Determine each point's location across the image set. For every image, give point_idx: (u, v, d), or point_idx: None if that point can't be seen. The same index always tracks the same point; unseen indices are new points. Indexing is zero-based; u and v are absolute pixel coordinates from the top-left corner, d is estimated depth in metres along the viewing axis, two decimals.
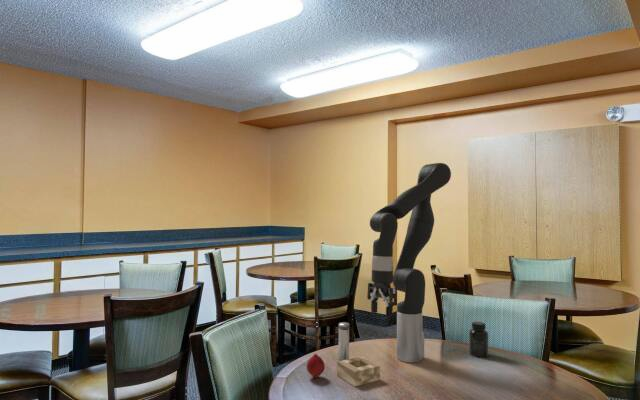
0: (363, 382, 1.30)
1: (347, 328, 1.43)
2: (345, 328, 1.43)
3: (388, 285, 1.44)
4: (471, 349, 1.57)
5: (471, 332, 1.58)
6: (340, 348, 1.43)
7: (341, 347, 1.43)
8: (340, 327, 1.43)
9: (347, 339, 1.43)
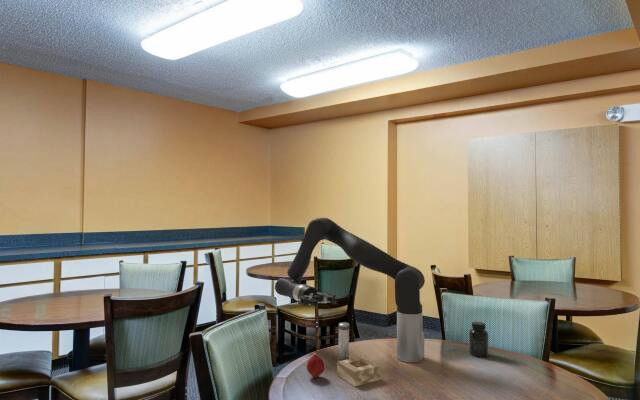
0: (363, 382, 1.30)
1: (347, 328, 1.43)
2: (345, 328, 1.43)
3: None
4: (471, 349, 1.57)
5: (471, 332, 1.58)
6: (340, 348, 1.43)
7: (341, 347, 1.43)
8: (340, 327, 1.43)
9: (347, 339, 1.43)
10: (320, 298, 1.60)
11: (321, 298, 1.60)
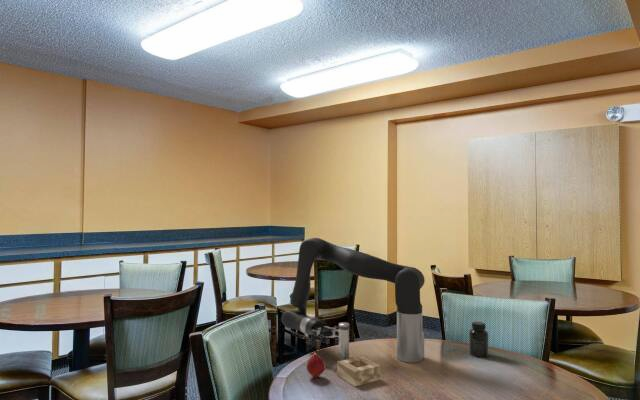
0: (363, 382, 1.30)
1: (347, 328, 1.43)
2: (345, 328, 1.43)
3: None
4: (471, 349, 1.57)
5: (471, 332, 1.58)
6: (340, 348, 1.43)
7: (341, 347, 1.43)
8: (340, 327, 1.43)
9: (347, 339, 1.43)
10: (328, 333, 1.55)
11: (329, 333, 1.55)
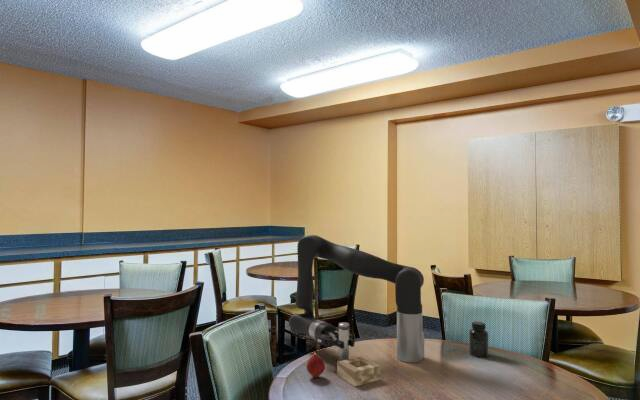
0: (363, 382, 1.30)
1: (347, 328, 1.43)
2: (345, 328, 1.43)
3: None
4: (471, 349, 1.57)
5: (471, 332, 1.58)
6: (340, 348, 1.43)
7: None
8: (340, 327, 1.43)
9: (347, 339, 1.43)
10: (336, 338, 1.49)
11: (337, 338, 1.49)
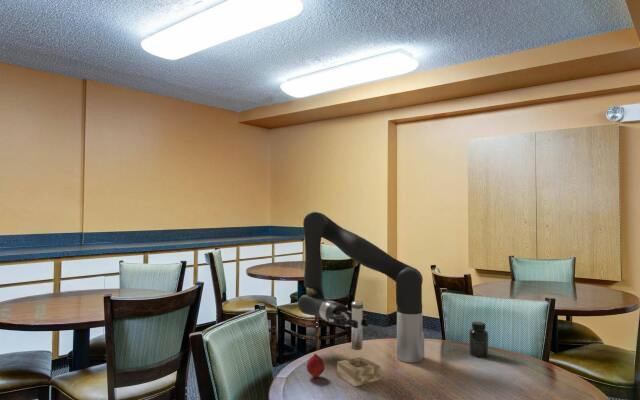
0: (363, 382, 1.30)
1: (361, 307, 1.35)
2: (359, 306, 1.35)
3: None
4: (471, 349, 1.57)
5: (471, 332, 1.58)
6: (353, 328, 1.35)
7: None
8: (353, 306, 1.35)
9: (361, 318, 1.35)
10: (348, 318, 1.40)
11: (350, 318, 1.41)
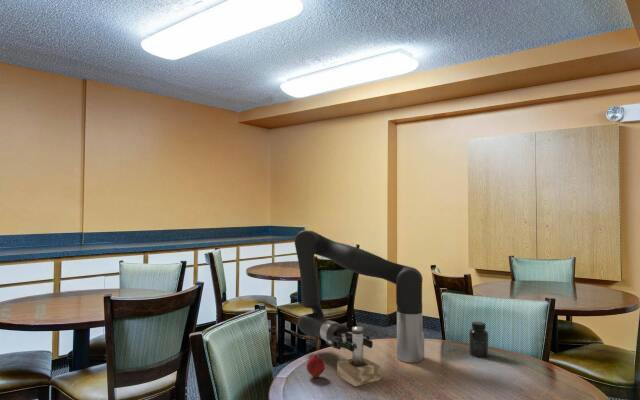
0: (363, 382, 1.30)
1: (361, 332, 1.35)
2: (360, 332, 1.34)
3: None
4: (471, 349, 1.57)
5: (471, 332, 1.58)
6: (354, 354, 1.35)
7: (355, 353, 1.34)
8: (354, 331, 1.35)
9: (361, 344, 1.35)
10: None
11: None
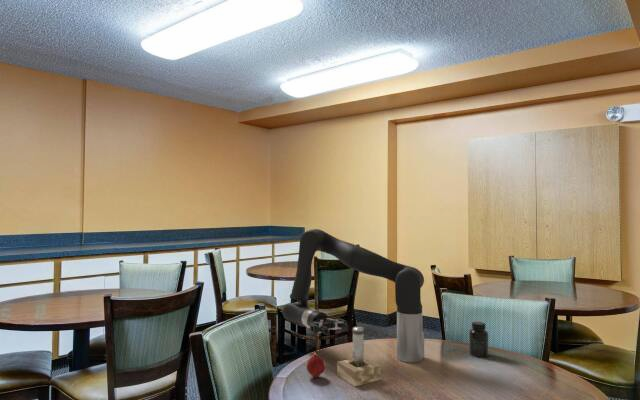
0: (363, 382, 1.30)
1: (362, 333, 1.34)
2: (360, 332, 1.34)
3: (313, 324, 1.54)
4: (471, 349, 1.57)
5: (471, 332, 1.58)
6: (354, 354, 1.34)
7: (356, 353, 1.34)
8: (354, 332, 1.34)
9: (362, 344, 1.34)
10: (331, 324, 1.53)
11: (332, 324, 1.53)
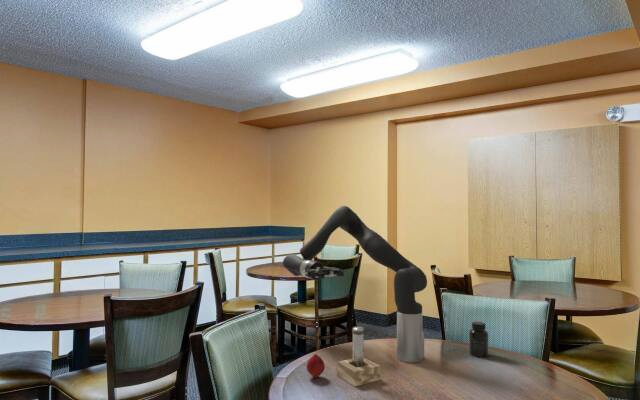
0: (363, 382, 1.30)
1: (362, 333, 1.34)
2: (360, 332, 1.34)
3: None
4: (471, 349, 1.57)
5: (471, 332, 1.58)
6: (354, 354, 1.34)
7: (356, 353, 1.34)
8: (354, 332, 1.34)
9: (362, 344, 1.34)
10: (327, 271, 1.64)
11: (328, 271, 1.65)
